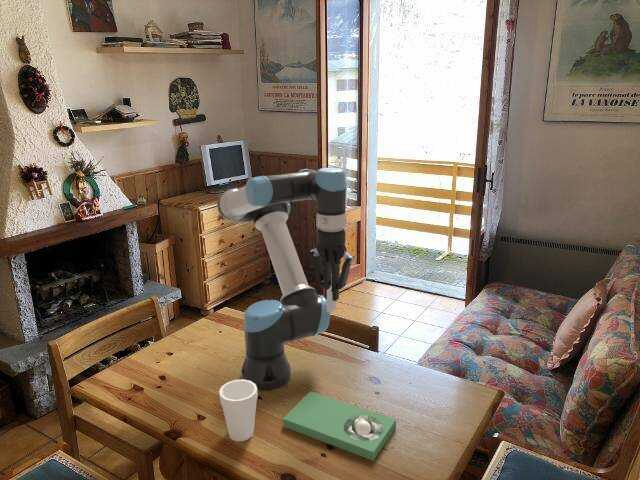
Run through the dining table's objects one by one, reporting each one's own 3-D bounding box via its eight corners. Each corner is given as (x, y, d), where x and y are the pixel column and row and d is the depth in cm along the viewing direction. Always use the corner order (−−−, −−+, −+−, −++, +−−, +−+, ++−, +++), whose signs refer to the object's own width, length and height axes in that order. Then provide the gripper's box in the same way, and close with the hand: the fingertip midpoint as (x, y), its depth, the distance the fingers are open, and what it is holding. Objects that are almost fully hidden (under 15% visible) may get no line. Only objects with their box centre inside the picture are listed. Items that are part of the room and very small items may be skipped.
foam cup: (243, 450, 129) (240, 405, 125) (215, 437, 134) (211, 393, 130) (266, 429, 136) (264, 386, 132) (239, 417, 141) (236, 375, 137)
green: (283, 426, 137) (282, 418, 137) (310, 398, 149) (310, 391, 148) (373, 460, 125) (373, 452, 124) (395, 427, 136) (396, 419, 135)
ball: (352, 421, 133) (366, 417, 132) (356, 423, 136) (370, 419, 135) (355, 437, 131) (370, 434, 130) (359, 439, 134) (374, 435, 133)
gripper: (302, 228, 136) (304, 310, 143) (346, 235, 130) (346, 320, 137) (316, 221, 142) (318, 300, 150) (359, 227, 136) (359, 310, 143)
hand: (331, 310), depth 143 cm, fingers closed
